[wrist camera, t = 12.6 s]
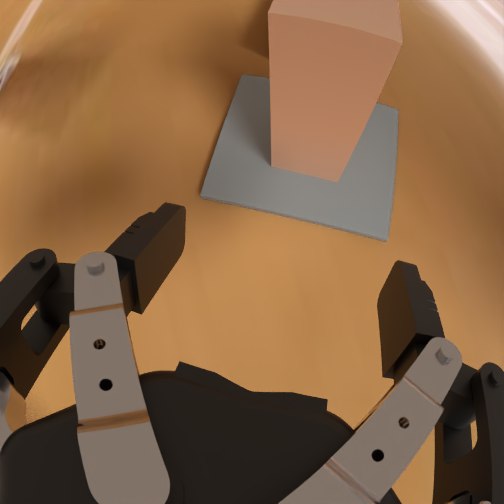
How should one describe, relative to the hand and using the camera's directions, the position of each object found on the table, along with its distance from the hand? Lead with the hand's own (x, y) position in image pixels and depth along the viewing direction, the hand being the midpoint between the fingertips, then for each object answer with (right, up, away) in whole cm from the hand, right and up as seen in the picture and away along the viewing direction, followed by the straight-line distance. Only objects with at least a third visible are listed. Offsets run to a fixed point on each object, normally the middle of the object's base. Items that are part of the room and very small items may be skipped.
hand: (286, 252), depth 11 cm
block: (+3, +8, +11) cm, 14 cm away
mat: (+3, +8, +12) cm, 15 cm away
